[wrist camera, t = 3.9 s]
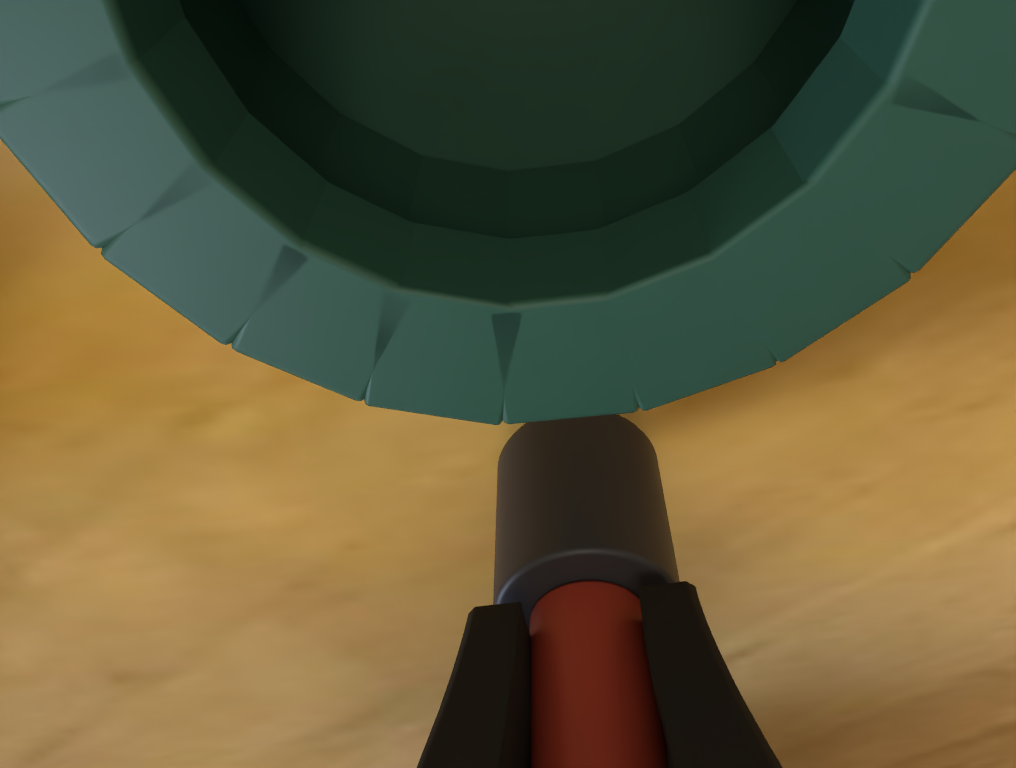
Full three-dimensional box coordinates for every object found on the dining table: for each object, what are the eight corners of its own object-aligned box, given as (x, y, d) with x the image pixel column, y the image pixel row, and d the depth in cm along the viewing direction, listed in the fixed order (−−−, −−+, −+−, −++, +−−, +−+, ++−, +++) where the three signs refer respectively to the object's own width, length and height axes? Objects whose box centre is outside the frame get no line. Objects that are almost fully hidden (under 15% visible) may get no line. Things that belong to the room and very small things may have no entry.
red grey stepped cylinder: (688, 443, 14) (827, 1043, 8) (601, 542, 16) (658, 1118, 9) (548, 381, 13) (573, 984, 7) (470, 489, 15) (431, 1075, 8)
